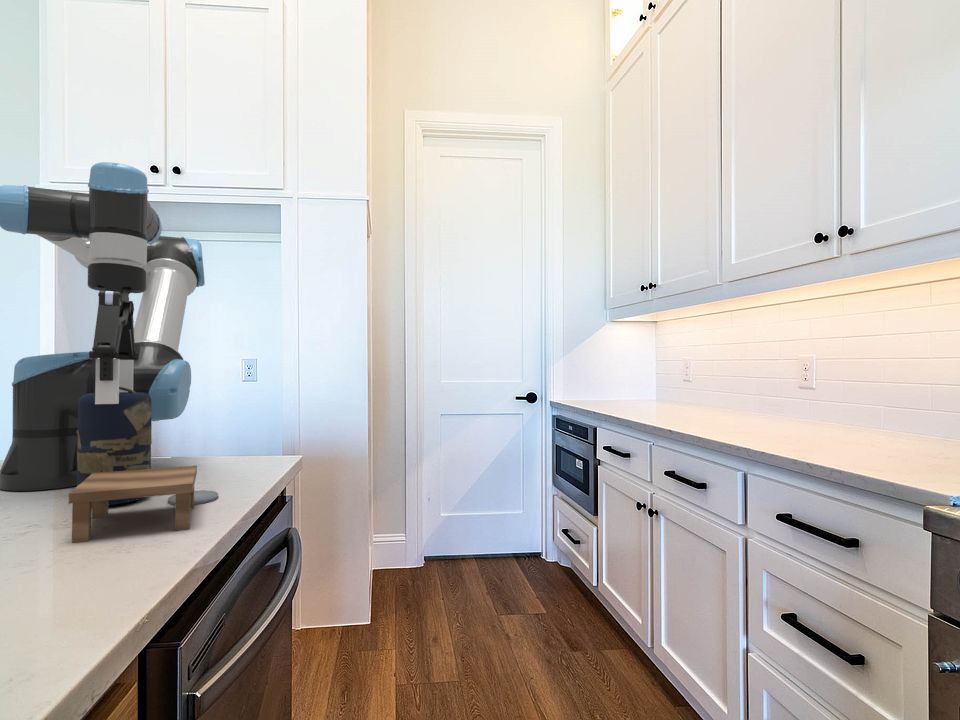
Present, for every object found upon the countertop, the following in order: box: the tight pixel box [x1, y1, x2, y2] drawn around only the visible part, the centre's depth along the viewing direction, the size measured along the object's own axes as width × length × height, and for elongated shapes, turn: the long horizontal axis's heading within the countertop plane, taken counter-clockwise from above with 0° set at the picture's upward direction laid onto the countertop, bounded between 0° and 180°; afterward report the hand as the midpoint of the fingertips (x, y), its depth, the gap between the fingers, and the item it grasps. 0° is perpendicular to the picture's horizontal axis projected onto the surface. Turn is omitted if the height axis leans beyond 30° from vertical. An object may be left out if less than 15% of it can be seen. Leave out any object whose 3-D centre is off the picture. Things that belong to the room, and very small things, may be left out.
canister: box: [76, 387, 153, 506], centre depth 81 cm, size 10×10×18 cm
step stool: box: [68, 465, 198, 544], centre depth 71 cm, size 13×13×6 cm
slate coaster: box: [167, 490, 219, 506], centre depth 83 cm, size 7×7×1 cm
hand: (115, 401), depth 81 cm, fingers open, 13 cm apart
